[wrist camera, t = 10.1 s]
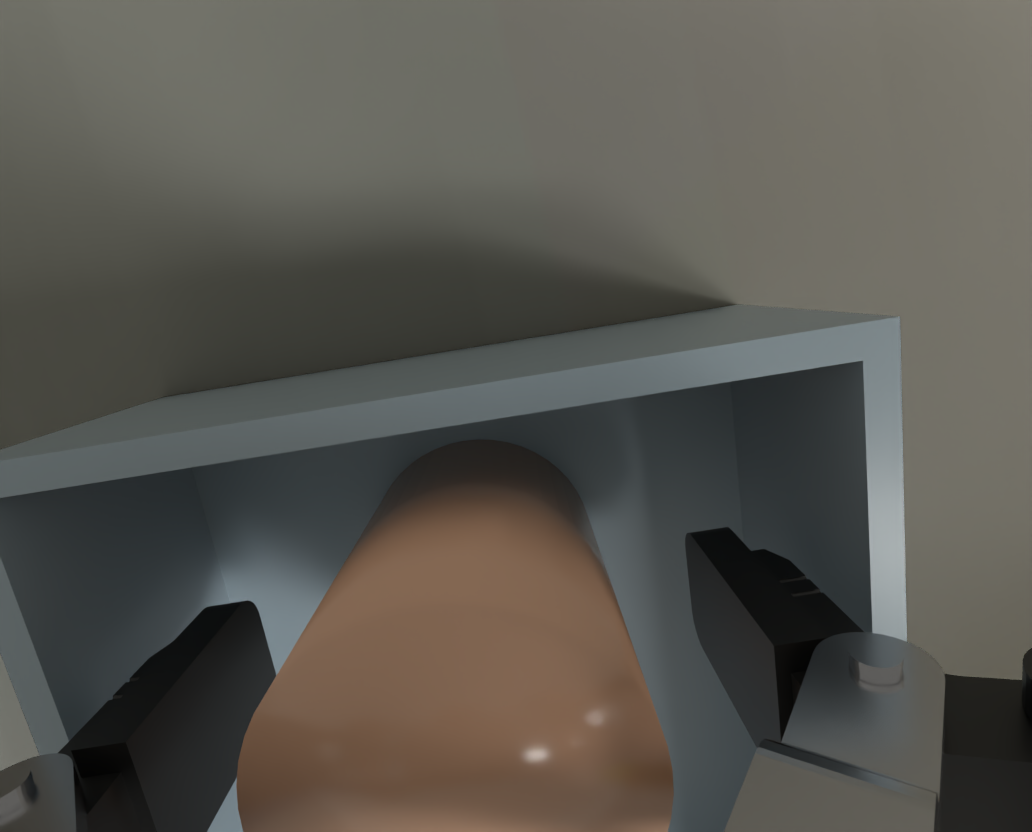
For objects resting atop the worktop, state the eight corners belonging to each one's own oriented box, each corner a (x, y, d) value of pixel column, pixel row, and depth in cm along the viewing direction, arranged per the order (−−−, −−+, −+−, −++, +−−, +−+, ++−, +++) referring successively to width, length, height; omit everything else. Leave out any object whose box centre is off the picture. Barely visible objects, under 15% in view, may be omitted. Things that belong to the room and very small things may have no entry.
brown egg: (575, 423, 13) (647, 569, 6) (604, 625, 14) (693, 941, 7) (352, 458, 13) (183, 641, 6) (397, 657, 14) (294, 998, 7)
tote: (738, 304, 13) (900, 316, 8) (786, 912, 17) (918, 1209, 11) (161, 397, 13) (-71, 472, 8) (331, 978, 17) (250, 1299, 12)
